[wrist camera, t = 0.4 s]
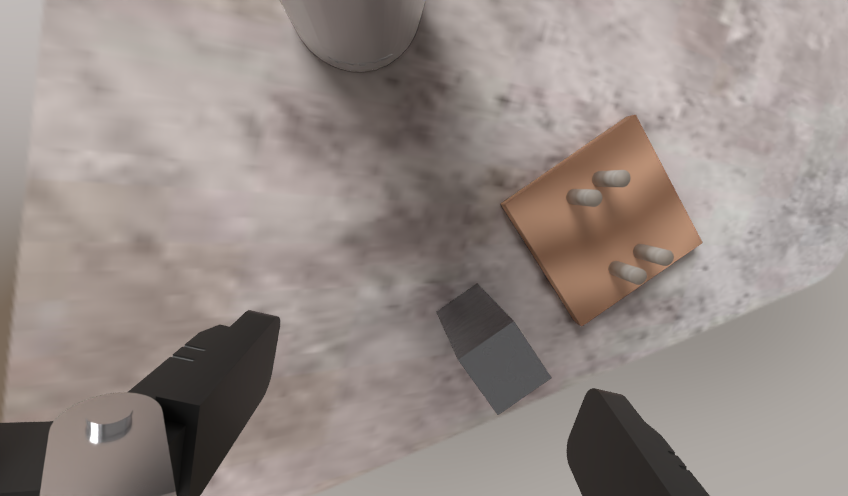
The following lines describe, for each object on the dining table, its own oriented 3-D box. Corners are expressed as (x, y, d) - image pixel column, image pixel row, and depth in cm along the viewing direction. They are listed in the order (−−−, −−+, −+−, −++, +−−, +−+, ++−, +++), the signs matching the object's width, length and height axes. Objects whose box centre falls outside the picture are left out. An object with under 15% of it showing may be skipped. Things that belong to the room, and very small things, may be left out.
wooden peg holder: (500, 203, 32) (518, 207, 28) (626, 117, 32) (662, 107, 28) (574, 321, 34) (601, 340, 30) (691, 240, 34) (734, 248, 30)
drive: (436, 311, 33) (458, 359, 24) (478, 282, 33) (515, 320, 24) (466, 353, 34) (497, 415, 25) (506, 325, 34) (553, 376, 25)
